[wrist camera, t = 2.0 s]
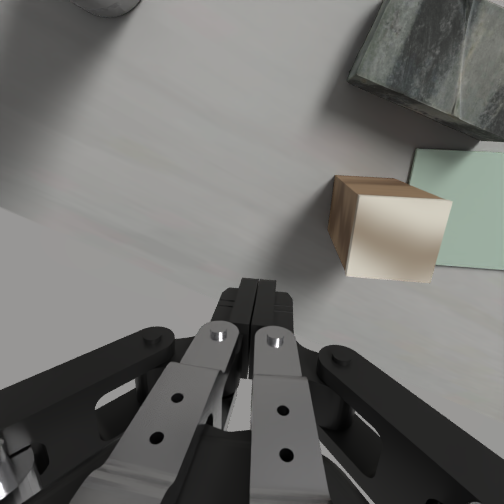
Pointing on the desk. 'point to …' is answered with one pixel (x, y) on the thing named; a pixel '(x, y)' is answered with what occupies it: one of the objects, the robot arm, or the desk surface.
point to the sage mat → (466, 203)
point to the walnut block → (386, 228)
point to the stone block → (439, 62)
